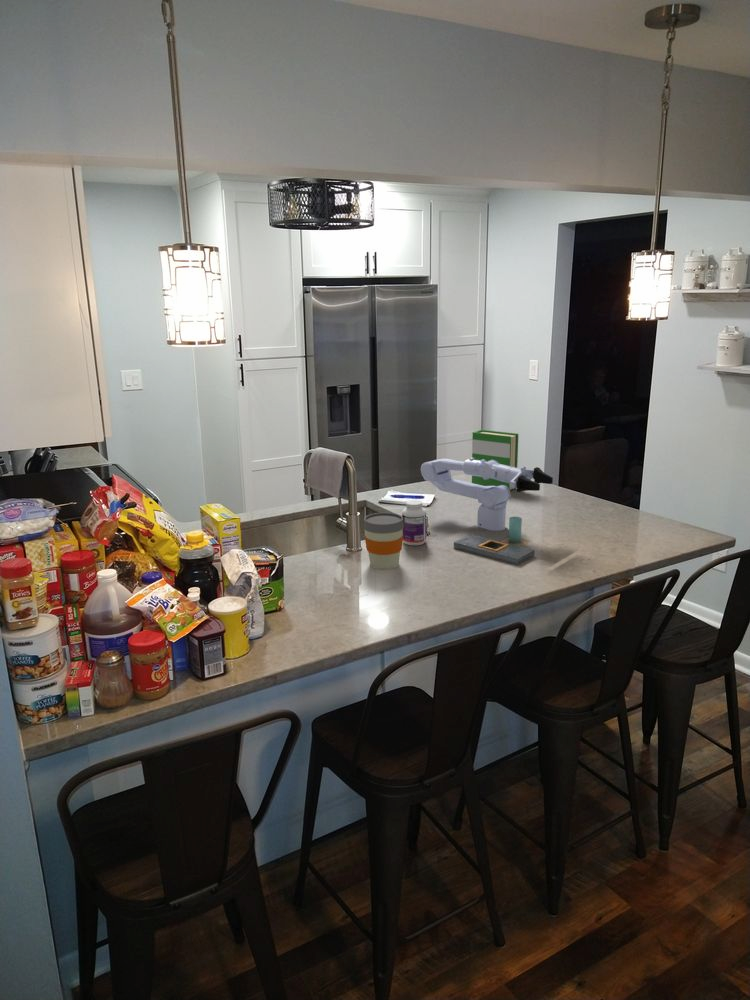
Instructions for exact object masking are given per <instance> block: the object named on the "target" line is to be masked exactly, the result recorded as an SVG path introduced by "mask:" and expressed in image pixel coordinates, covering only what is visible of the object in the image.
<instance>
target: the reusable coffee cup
mask: <svg viewBox="0 0 750 1000" xmlns="http://www.w3.org/2000/svg"><path fill="white" fill-rule="evenodd" d="M403 528H404V522H403V517H402V515H400V514H398V513H395V512H393V513H392V512H377V513H376V512H374V513H371V514H367V515H365V516H364V518H363V530H364V532H365V533H364V540H365V548H366V551H367V552H368V557H369V563H370V567H372V568H374V569H378V570H389V569H390V570H391V569H394V568H396V567H398V566H399V565H400V554H401V551H402V549H403V544H404V542H403V534H402V532H403Z"/></svg>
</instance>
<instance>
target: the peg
mask: <svg viewBox="0 0 750 1000" xmlns="http://www.w3.org/2000/svg"><path fill="white" fill-rule="evenodd" d="M522 523H523V518H522V517H521V516H510V517H509V521H508V524H509V525H508V537H509V542H511V543H520V542H521V538H522Z"/></svg>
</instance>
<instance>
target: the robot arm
mask: <svg viewBox="0 0 750 1000" xmlns="http://www.w3.org/2000/svg"><path fill="white" fill-rule="evenodd" d="M526 468H527V467H526V466H521V467H520V468H518V467H517V468H515V467H511V466H507V465H503V464H499V463H498V462H497V461H495V460H490V461H488V462H487V461H485V460H484V459H482V460H474V458H472V457H469V458H468V459H466V460H464V461H461V460H458V459H457V460H456V459H450V458H447V457H446V458H445V457H444V458H441V457H440V458H438V459H434V460H431V461H425V462H423V463H422V464H421V466H420V474H421V476H422V477H423V480H424V481H425V482H430V483H431V484H432V485H433V486H434V487H435V488H437V489H438V490H439V491H441V492H445V493H449V494H452V495H458V496H463V497H466V498H471V499H474V500H477V502H478V503H480V505H479V507H478V509H477V523H476V525H477V527H478V528H481V529H485V530H488V531H492V532H499V531H504V530H505V529H506V516H507V505H508V504H507V503H508V501H510V499H511V490H510V491H509V489H508V488H507V487H506V486H504V485H500V486H482V485H478V484H473V483H472V482H468V481H463V480H459V479H454V478H452V477H453V476H452V474H451V471H460V472H463V473H464V474H465V475H467V476H471V477H472V476H479V477H483V479H484V480H487V479H489V478H491V479H495V480H498V481H502V482H506V483H510V487H512V488H516V487H517V489H516V492H518V493H520V492H521V493H522V492H527V491H529V492H530V491H534V492H538V491H540V489H541V488H540V487H541V484H545V485H546V484H547V485H552V484H553V481H554V478H553V476H551V475H549V474H547V473H545V472H544V471H543V470H542V469H541V468H540V467H538V466H536V467H535V468H533V469H526ZM532 479H533V480H532Z"/></svg>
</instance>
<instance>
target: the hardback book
mask: <svg viewBox="0 0 750 1000" xmlns="http://www.w3.org/2000/svg"><path fill="white" fill-rule="evenodd" d="M471 440H472V443H471V444H472V448H471V451H472V452H471V453H472V454H471V455H472V456H471V458H474V460H482V459H484V460H485V461H487V462H488V461H490V460H495V461H497V462H498V463H499V464H503V465H507V466H511V467H515V468H518V460H519V458H518V457H519V456H518V455H519V433H513V432H507V431H506V432H505V431H495V430H487V429H479V430H475V431H473V432H472V438H471ZM471 483H473V484H478V485H482V486H500V485H504V486H506V487H507V488H508V489H509V491H510V492H511V490H514V489H516V488H517V487H516V488H514V489H513V488H512V487H510V483H506V482H502V481H498V480H495V479H491V478H489V479H487V480H484V479H483V477H479V476H472V475H471ZM516 490H517V489H516Z"/></svg>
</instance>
